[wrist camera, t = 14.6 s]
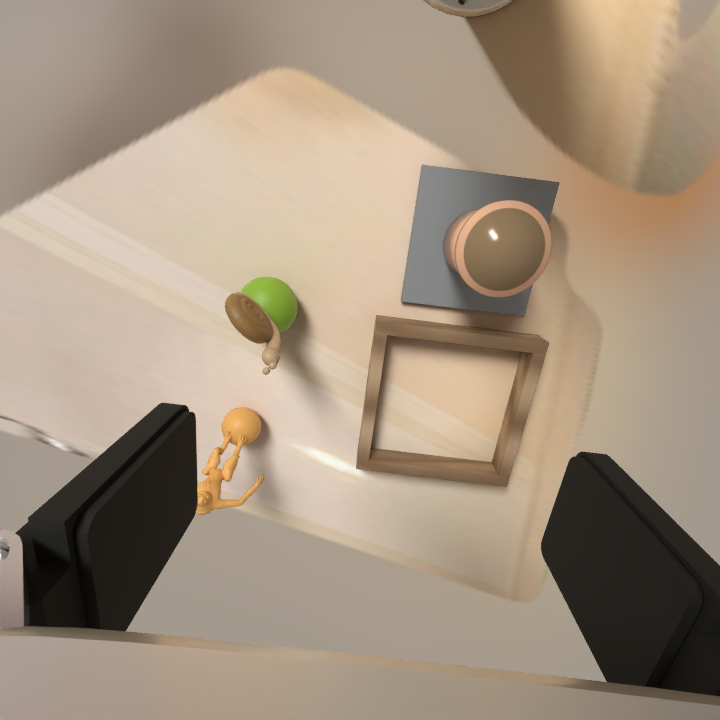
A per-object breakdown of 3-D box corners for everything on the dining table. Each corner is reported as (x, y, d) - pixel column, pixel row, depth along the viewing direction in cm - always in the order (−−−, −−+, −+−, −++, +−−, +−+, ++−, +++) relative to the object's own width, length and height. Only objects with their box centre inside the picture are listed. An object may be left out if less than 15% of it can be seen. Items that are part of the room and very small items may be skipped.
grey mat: (421, 165, 35) (422, 164, 34) (556, 183, 35) (559, 182, 34) (400, 300, 39) (401, 301, 38) (521, 315, 39) (523, 316, 38)
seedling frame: (376, 315, 39) (376, 321, 37) (538, 335, 40) (549, 342, 37) (357, 455, 45) (356, 468, 43) (499, 472, 45) (506, 486, 43)
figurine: (288, 414, 43) (258, 482, 32) (273, 458, 45) (241, 537, 34) (214, 390, 43) (157, 451, 31) (203, 435, 45) (145, 509, 33)
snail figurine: (280, 345, 41) (244, 393, 29) (236, 296, 39) (181, 328, 28) (319, 313, 40) (298, 350, 28) (276, 261, 38) (235, 279, 27)
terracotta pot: (446, 199, 35) (468, 194, 27) (521, 209, 35) (564, 206, 28) (432, 276, 37) (448, 291, 30) (503, 285, 38) (537, 302, 30)
